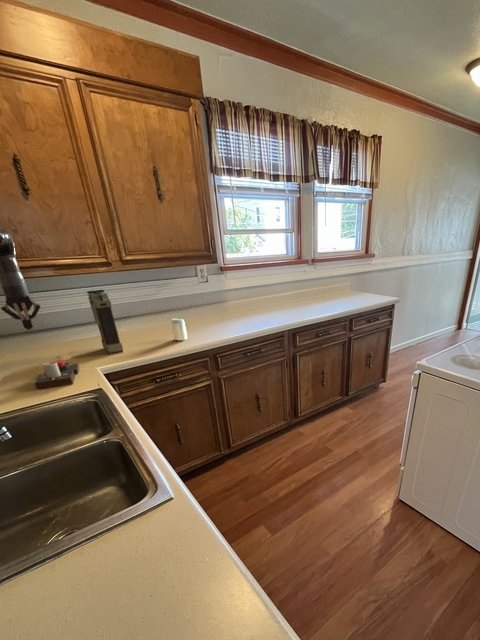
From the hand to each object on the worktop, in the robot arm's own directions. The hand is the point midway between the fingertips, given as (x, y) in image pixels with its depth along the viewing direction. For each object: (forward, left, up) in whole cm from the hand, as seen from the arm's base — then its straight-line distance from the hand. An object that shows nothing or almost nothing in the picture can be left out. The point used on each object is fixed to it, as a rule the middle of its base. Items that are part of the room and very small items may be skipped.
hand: (29, 329), depth 132 cm
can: (+61, +28, -20) cm, 70 cm away
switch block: (+6, -1, -20) cm, 21 cm away
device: (+26, +25, -20) cm, 41 cm away
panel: (+5, -12, -20) cm, 24 cm away
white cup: (+5, -12, -17) cm, 22 cm away
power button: (+6, -1, -17) cm, 18 cm away
